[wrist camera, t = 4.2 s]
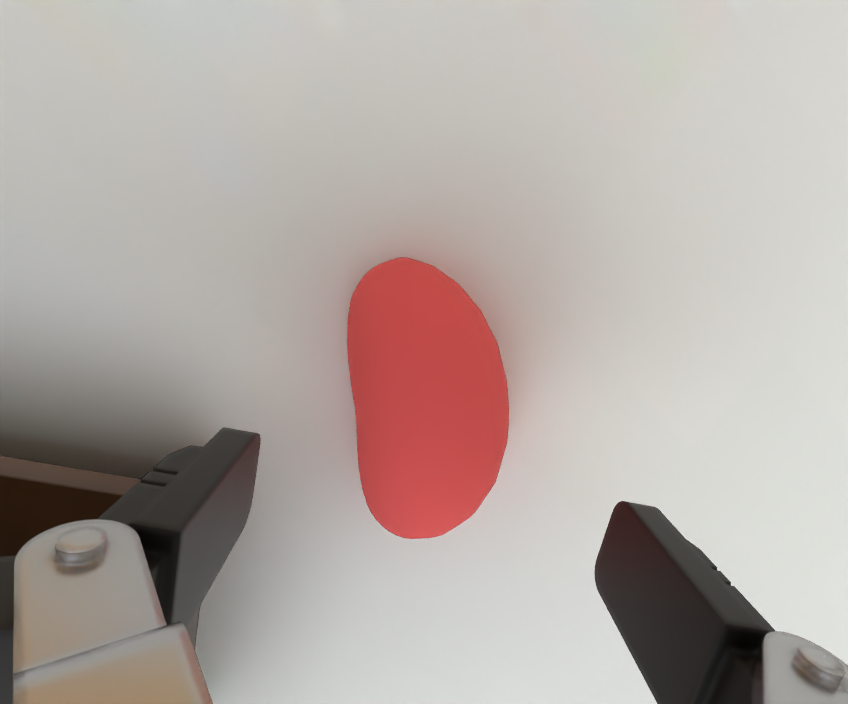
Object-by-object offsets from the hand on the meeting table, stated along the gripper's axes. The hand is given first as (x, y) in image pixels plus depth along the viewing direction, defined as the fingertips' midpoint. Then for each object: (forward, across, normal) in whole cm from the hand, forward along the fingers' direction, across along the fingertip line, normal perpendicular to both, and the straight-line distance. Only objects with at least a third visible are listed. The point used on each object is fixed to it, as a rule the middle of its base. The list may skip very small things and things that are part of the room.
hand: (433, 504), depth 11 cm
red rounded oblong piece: (+8, 0, 0) cm, 8 cm away
